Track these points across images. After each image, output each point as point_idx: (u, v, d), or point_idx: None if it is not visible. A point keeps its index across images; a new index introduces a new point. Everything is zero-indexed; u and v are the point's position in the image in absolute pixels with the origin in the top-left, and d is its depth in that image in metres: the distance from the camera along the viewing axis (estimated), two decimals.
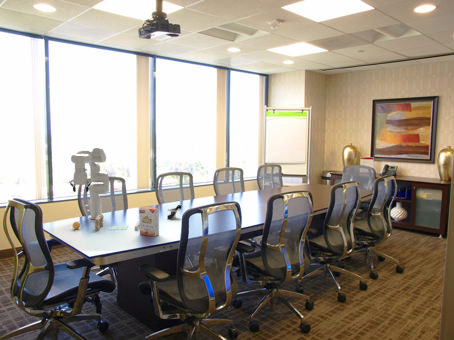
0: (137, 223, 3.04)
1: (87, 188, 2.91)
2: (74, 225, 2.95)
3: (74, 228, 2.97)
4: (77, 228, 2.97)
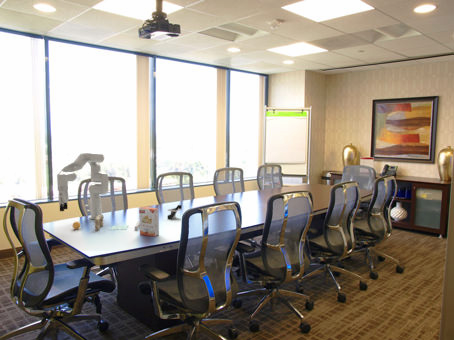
0: (137, 223, 3.04)
1: None
2: (74, 225, 2.95)
3: (74, 228, 2.97)
4: (77, 228, 2.97)
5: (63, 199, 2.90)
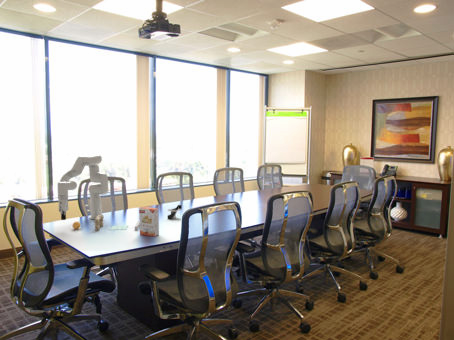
0: (137, 223, 3.04)
1: (62, 216, 2.95)
2: (74, 225, 2.95)
3: (74, 228, 2.97)
4: (77, 228, 2.97)
5: (63, 208, 2.91)
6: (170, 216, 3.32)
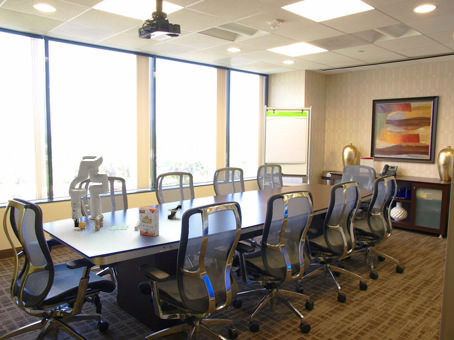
0: (137, 223, 3.04)
1: None
2: (81, 225, 2.95)
3: (78, 225, 2.96)
4: None
5: (76, 215, 2.92)
6: (170, 216, 3.32)
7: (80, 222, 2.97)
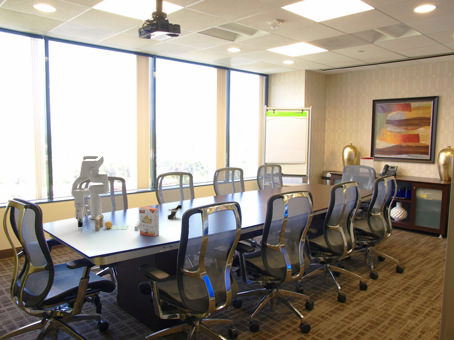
0: (137, 223, 3.04)
1: (79, 224, 2.97)
2: (108, 225, 2.97)
3: (105, 223, 2.98)
4: None
5: (80, 216, 2.93)
6: (170, 216, 3.32)
7: (109, 221, 2.99)
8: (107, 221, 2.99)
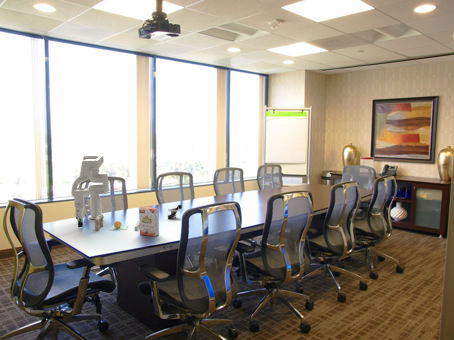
0: (137, 223, 3.04)
1: (79, 224, 2.97)
2: (116, 226, 2.97)
3: (120, 225, 2.99)
4: (119, 222, 2.99)
5: (80, 216, 2.93)
6: (170, 216, 3.32)
7: (118, 227, 3.00)
8: (120, 226, 3.00)
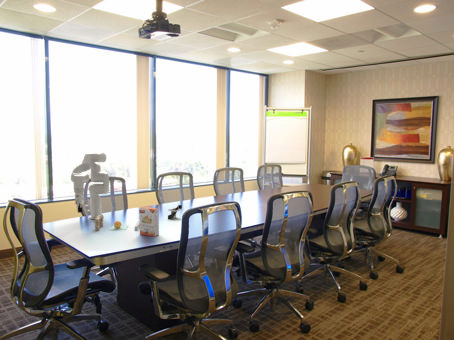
0: (137, 223, 3.04)
1: None
2: (116, 226, 2.97)
3: (120, 225, 2.99)
4: (119, 222, 2.99)
5: (79, 201, 2.92)
6: (170, 216, 3.32)
7: (118, 227, 3.00)
8: (120, 226, 3.00)
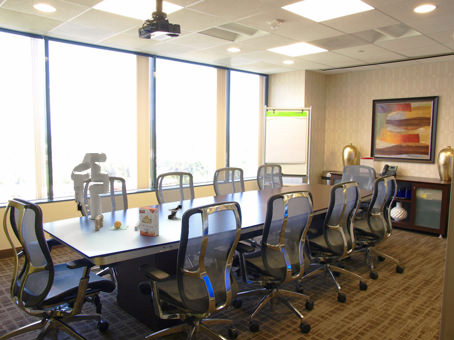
0: (137, 223, 3.04)
1: None
2: (116, 226, 2.97)
3: (120, 225, 2.99)
4: (119, 222, 2.99)
5: (79, 199, 2.92)
6: (170, 216, 3.32)
7: (118, 227, 3.00)
8: (120, 226, 3.00)
